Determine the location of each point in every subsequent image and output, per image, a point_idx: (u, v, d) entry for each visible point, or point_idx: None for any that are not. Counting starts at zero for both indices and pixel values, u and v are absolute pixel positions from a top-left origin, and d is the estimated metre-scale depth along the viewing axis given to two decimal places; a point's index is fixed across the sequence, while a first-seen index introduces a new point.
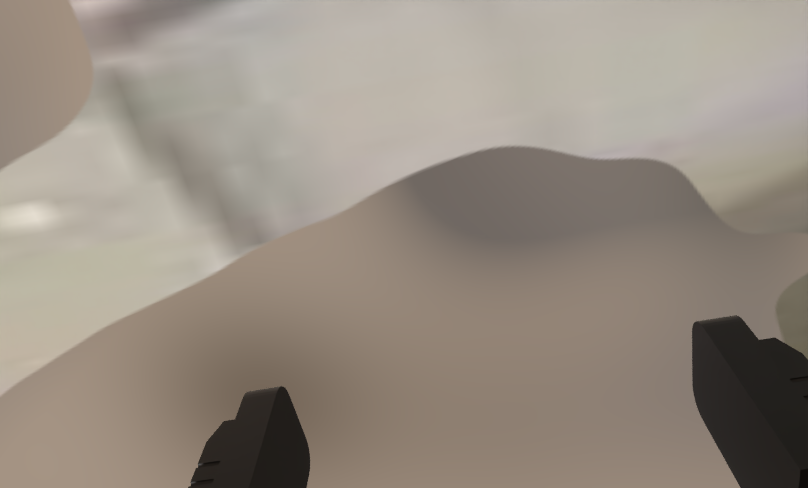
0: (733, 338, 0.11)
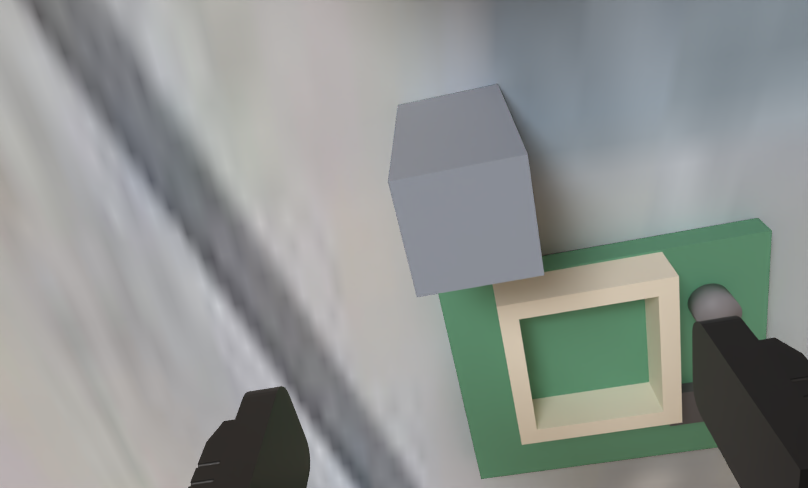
0: (733, 338, 0.11)
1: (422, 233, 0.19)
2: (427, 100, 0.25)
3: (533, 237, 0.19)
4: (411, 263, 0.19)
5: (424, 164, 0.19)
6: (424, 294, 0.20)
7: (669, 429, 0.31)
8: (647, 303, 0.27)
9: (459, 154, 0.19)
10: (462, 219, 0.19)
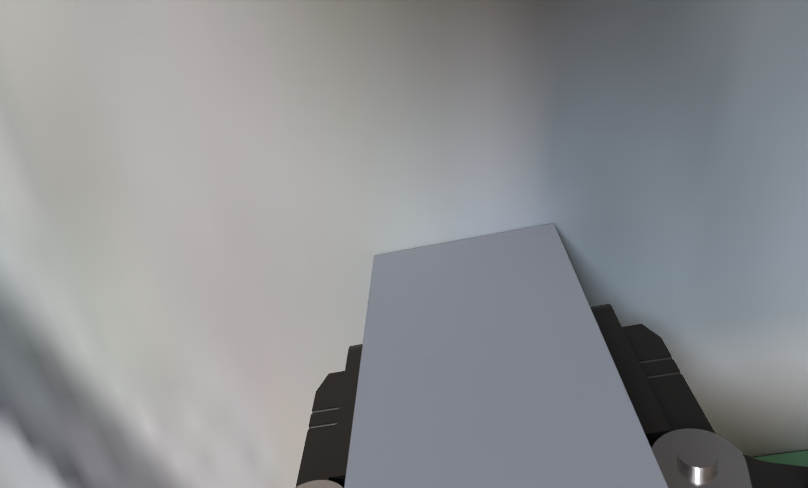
0: (599, 324, 0.12)
1: None
2: (426, 251, 0.14)
3: None
4: None
5: None
6: None
7: None
8: None
9: None
10: None
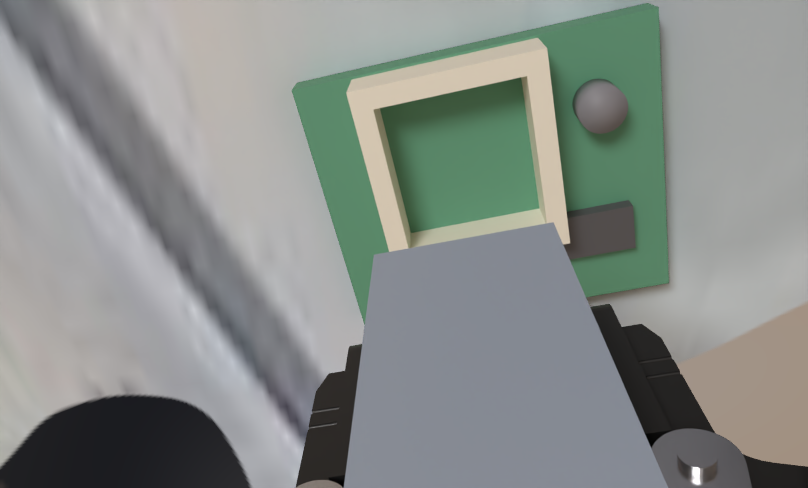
0: (599, 324, 0.12)
1: None
2: (426, 250, 0.14)
3: None
4: None
5: None
6: None
7: None
8: (525, 102, 0.24)
9: None
10: None
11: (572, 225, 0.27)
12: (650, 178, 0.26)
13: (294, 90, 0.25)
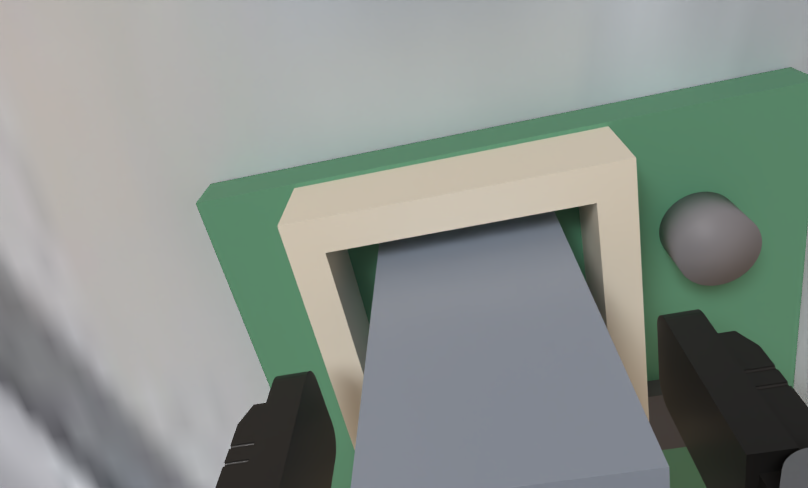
0: (693, 331, 0.11)
1: None
2: None
3: None
4: None
5: (430, 451, 0.09)
6: None
7: None
8: (583, 229, 0.15)
9: (504, 426, 0.09)
10: None
11: (648, 408, 0.17)
12: (774, 338, 0.16)
13: (200, 203, 0.15)
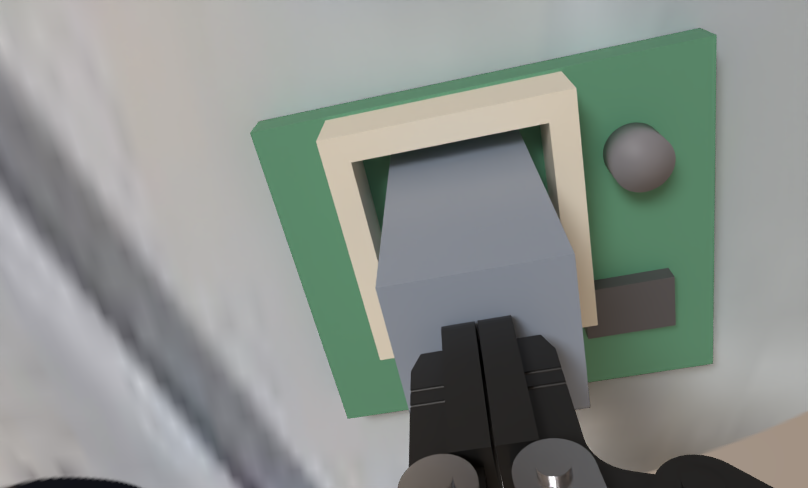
0: (497, 335, 0.12)
1: None
2: (428, 148, 0.19)
3: (577, 361, 0.14)
4: (407, 391, 0.14)
5: (427, 260, 0.13)
6: None
7: (590, 346, 0.23)
8: (544, 150, 0.19)
9: (475, 245, 0.13)
10: None
11: (599, 298, 0.21)
12: (696, 242, 0.21)
13: (253, 133, 0.20)
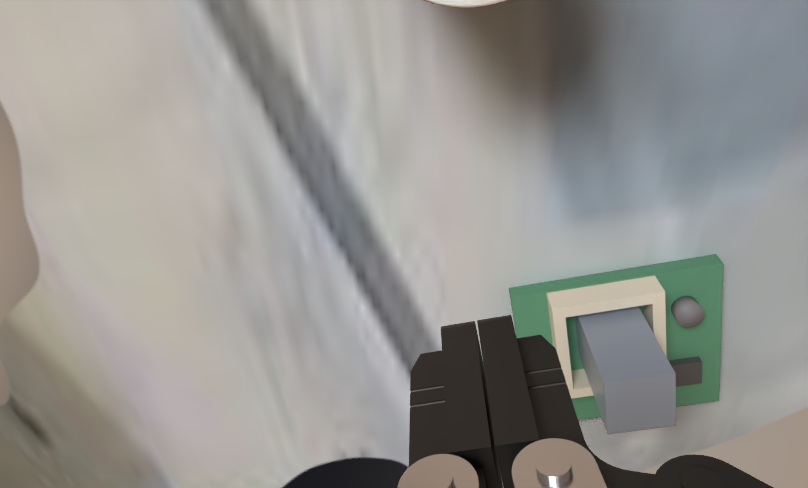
0: (497, 335, 0.12)
1: (616, 405, 0.37)
2: None
3: (672, 408, 0.37)
4: (608, 419, 0.38)
5: (619, 372, 0.37)
6: (612, 433, 0.38)
7: None
8: (645, 308, 0.43)
9: (636, 366, 0.37)
10: (638, 400, 0.37)
11: None
12: (712, 345, 0.45)
13: (512, 297, 0.43)
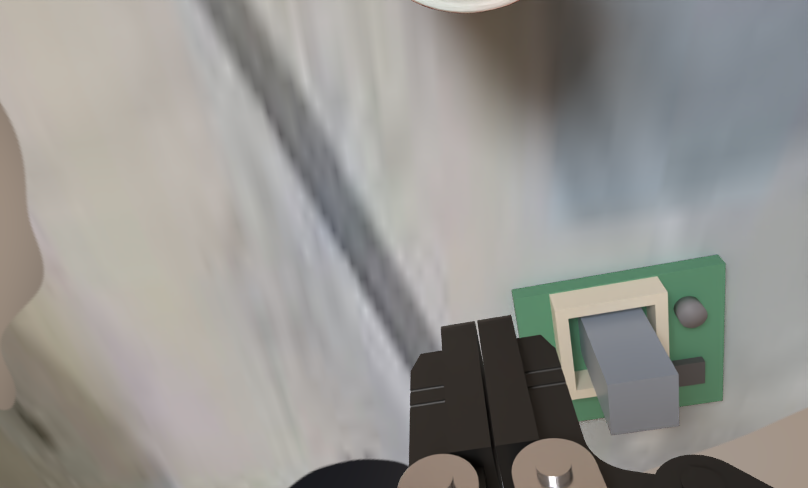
0: (496, 335, 0.12)
1: (619, 406, 0.37)
2: None
3: (676, 409, 0.37)
4: (611, 420, 0.38)
5: (622, 373, 0.37)
6: (615, 434, 0.38)
7: None
8: (648, 308, 0.43)
9: (639, 367, 0.37)
10: (641, 401, 0.37)
11: None
12: (715, 345, 0.45)
13: (515, 299, 0.43)
